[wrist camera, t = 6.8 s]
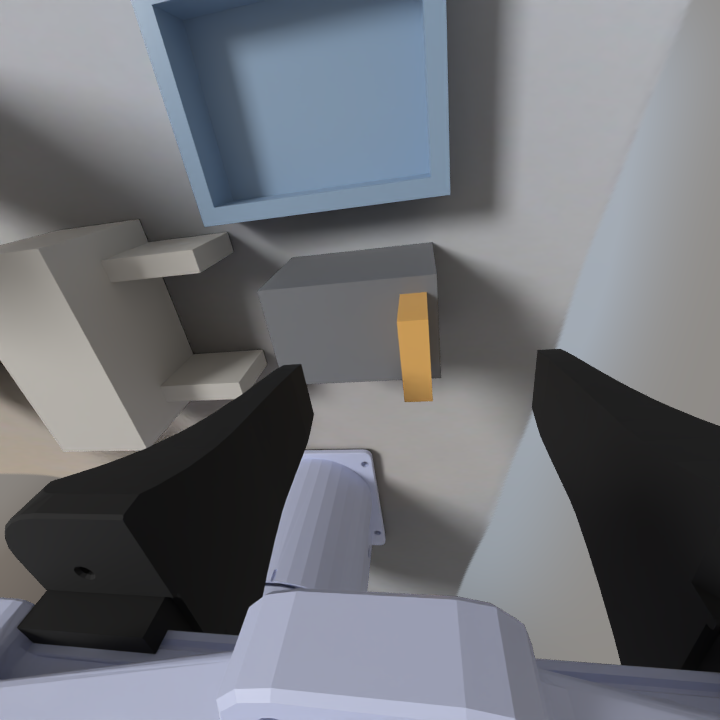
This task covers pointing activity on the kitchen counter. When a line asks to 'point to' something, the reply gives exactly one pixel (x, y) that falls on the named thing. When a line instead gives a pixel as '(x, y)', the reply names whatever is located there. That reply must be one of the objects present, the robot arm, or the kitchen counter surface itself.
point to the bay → (109, 334)
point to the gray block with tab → (358, 317)
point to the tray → (303, 101)
